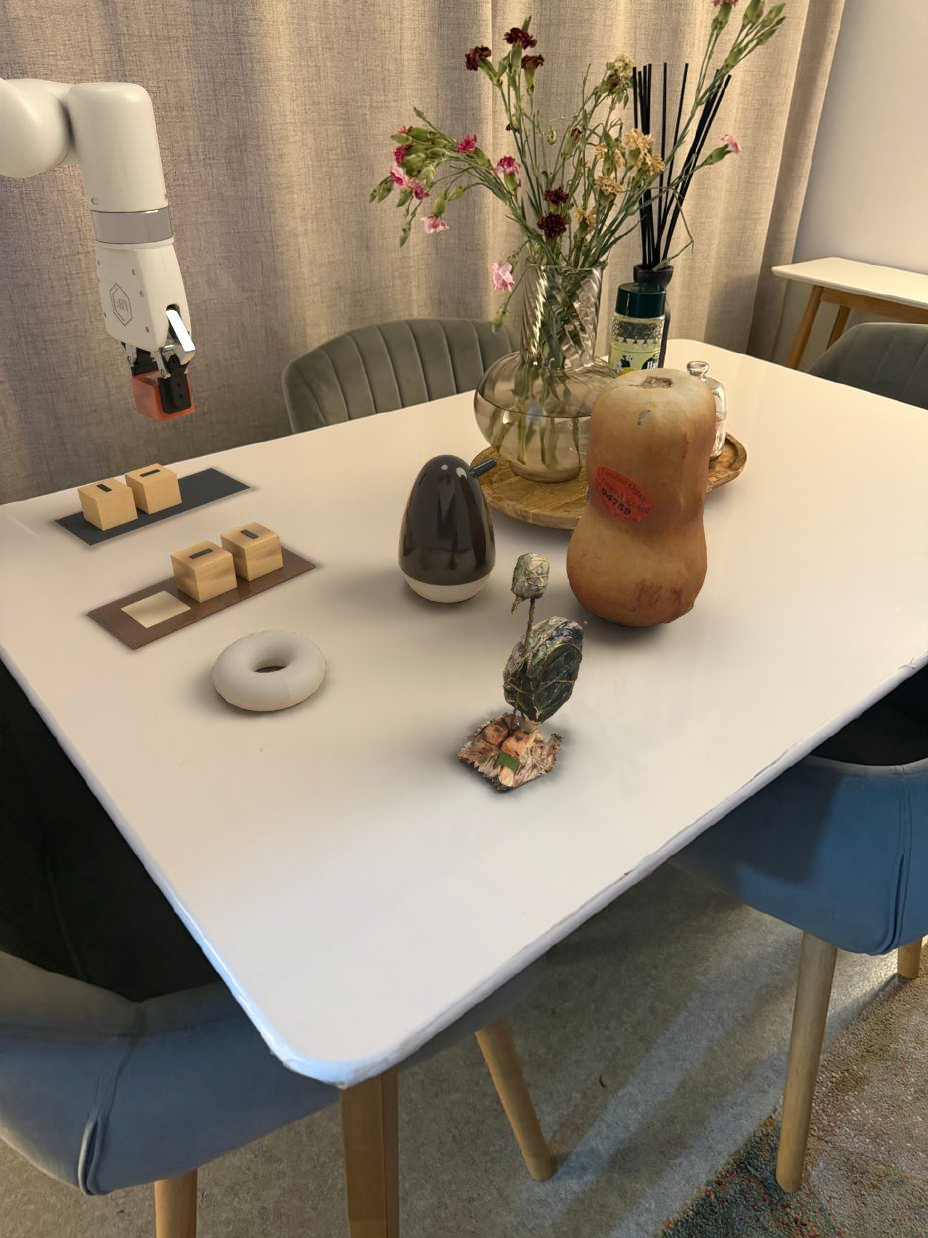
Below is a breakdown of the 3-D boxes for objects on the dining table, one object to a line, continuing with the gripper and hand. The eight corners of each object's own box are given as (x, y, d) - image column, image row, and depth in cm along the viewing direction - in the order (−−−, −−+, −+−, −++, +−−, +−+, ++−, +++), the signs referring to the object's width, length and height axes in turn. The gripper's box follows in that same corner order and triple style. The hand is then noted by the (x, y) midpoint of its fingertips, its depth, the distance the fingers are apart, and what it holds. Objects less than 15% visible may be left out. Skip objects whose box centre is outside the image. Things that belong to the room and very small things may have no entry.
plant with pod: (605, 749, 73) (632, 534, 62) (495, 805, 68) (504, 580, 57) (543, 699, 79) (558, 494, 68) (437, 747, 73) (434, 532, 63)
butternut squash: (536, 622, 89) (551, 377, 76) (602, 570, 98) (627, 343, 85) (660, 672, 82) (702, 413, 69) (720, 611, 91) (767, 371, 78)
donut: (279, 641, 86) (192, 687, 80) (276, 611, 85) (186, 655, 78) (349, 682, 81) (262, 735, 75) (348, 651, 79) (258, 702, 73)
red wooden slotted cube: (137, 412, 98) (129, 376, 96) (172, 402, 101) (166, 366, 99) (159, 422, 96) (152, 385, 94) (195, 412, 99) (189, 375, 97)
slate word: (55, 524, 106) (45, 488, 104) (212, 471, 120) (207, 438, 117) (91, 549, 101) (82, 512, 99) (251, 491, 115) (247, 457, 112)
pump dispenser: (511, 605, 92) (517, 469, 84) (415, 623, 89) (412, 484, 81) (476, 559, 100) (478, 431, 92) (388, 575, 97) (381, 444, 89)
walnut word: (89, 616, 90) (78, 576, 87) (267, 542, 103) (262, 506, 101) (135, 652, 85) (125, 610, 82) (316, 569, 98) (312, 531, 95)
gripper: (55, 221, 91) (94, 395, 101) (144, 243, 81) (177, 433, 91) (122, 212, 95) (153, 380, 105) (214, 233, 86) (238, 414, 96)
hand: (164, 403), depth 98 cm, fingers closed on red wooden slotted cube, 4 cm apart
